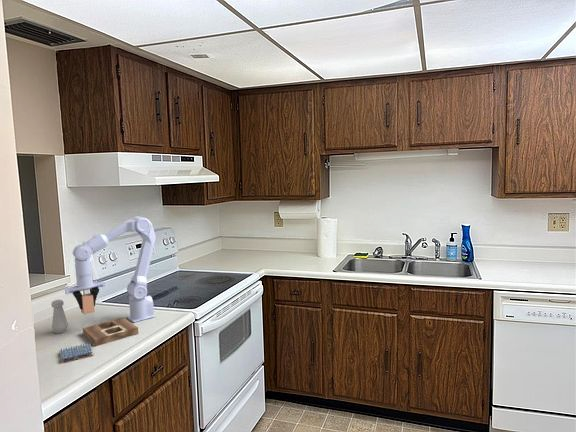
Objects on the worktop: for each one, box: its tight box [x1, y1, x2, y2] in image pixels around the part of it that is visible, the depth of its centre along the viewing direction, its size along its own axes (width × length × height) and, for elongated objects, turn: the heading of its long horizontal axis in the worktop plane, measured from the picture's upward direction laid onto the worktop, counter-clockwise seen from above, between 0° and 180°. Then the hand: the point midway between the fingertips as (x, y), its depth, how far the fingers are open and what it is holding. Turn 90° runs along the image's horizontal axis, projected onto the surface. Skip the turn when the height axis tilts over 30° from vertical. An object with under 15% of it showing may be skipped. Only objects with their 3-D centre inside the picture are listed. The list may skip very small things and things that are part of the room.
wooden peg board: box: [82, 317, 140, 347], centre depth 167 cm, size 16×16×3 cm
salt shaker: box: [50, 299, 69, 334], centre depth 171 cm, size 6×6×13 cm
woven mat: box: [58, 343, 95, 364], centre depth 150 cm, size 10×11×2 cm
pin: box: [80, 292, 96, 315], centre depth 171 cm, size 4×4×7 cm
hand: (87, 307), depth 171 cm, fingers closed on pin, 4 cm apart
